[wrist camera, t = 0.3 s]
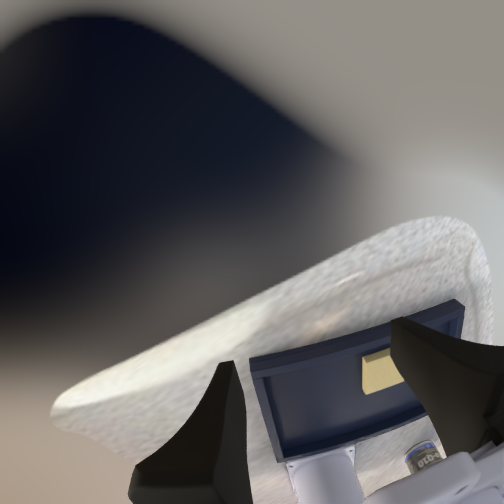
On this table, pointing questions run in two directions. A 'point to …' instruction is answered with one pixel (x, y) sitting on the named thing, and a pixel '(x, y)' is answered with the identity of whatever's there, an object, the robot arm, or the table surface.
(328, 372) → the tray
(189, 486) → the robot arm
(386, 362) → the beige square tile
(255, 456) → the table surface
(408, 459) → the pill bottle
